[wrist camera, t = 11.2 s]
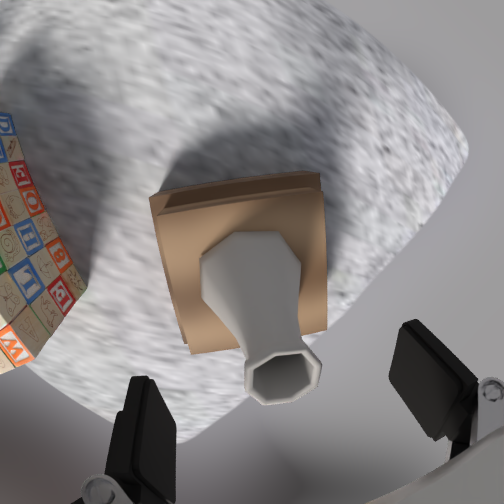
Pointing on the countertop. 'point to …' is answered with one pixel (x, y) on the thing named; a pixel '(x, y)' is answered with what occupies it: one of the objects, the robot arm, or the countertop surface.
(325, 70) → the countertop surface
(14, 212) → the stack of blocks
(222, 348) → the stepped wooden pedestal
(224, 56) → the countertop surface
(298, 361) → the flask
